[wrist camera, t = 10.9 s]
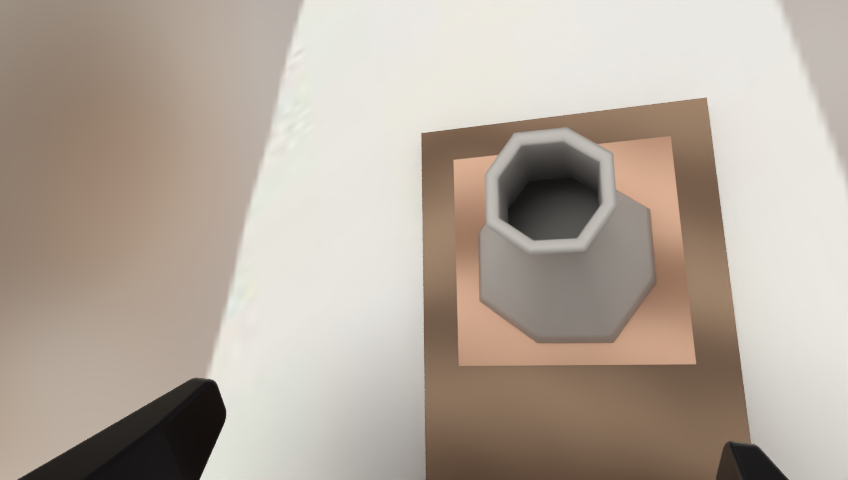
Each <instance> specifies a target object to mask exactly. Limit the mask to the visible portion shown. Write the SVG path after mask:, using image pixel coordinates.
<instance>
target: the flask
mask: <svg viewBox="0 0 848 480" xmlns="http://www.w3.org/2000/svg"><path fill="white" fill-rule="evenodd" d="M485 215H486V223H485V225H484V226H483V227H482V229H481V230H480V232H479V233H478V253H479V301H480V302H481V303H483V304H484V305H486V306H487V307H488V308H490V309H491V310H492V311H494V312H495V313H497V314H498V315H499V316H501V317H502V318H503V319H505V320H506V321H508V322H509V323H510V324H512V325H513V326H515V327H516V328H517V329H519V330H520V331H521V332H523V333H524V334H526V335H527V336H528V337H530V338H531V339H532V340H534V341H535V342H537V343H613V342H614V341H615V340H616V338H617V337H618V335H619V334H620V333H621V331H622V330H623V328H624V327H625V326H626V324H627V323H628V321H629V320H630V318H631V317H632V316H633V314H634V313H635V311H636V310H637V309H638V307H639V306H640V304H641V303H642V302H643V300H644V299H645V297H646V296H647V294H648V293H649V292H650V290H651V289H652V287H653V286H654V285H655V283H656V270H655V258H654V246H653V234H652V223H651V211H650V209H649V208H647V207H645V206H644V205H642V204H640V203H639V202H637V201H635V200H633V199H632V198H630V197H628V196H626V195H625V194H623V193H621V192H620V191H618V190H616V183H615V169H614V155H613V153H612V152H611V151H609V150H607V149H605V148H603V147H602V146H600V145H598V144H596V143H594V142H593V141H591V140H589V139H587V138H585V137H584V136H582V135H580V134H578V133H576V132H575V131H573V130H571V129H569V128H567V127H564V128H555V129H546V130H536V131H527V132H517V133H514V134H513V135H512V137H511V138H510V139H509V141H508V142H507V144H506V145H505V146H504V148H503V149H502V151H501V152H500V154H499V155H498V156H497V158H496V159H495V161H494V162H493V163H492V165H491V166H490V168H489V169H488V171H487V172H486V173H485Z"/></svg>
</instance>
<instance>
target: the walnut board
mask: <svg viewBox="0 0 848 480" xmlns="http://www.w3.org/2000/svg"><path fill="white" fill-rule="evenodd" d="M564 127H567V128H569V129H571V130H573V131H575V132H576V133H578V134H580V135H582V136H584V137H585V138H587V139H589V140H591V141H593V142H594V143H596V144H598V145H600V146H602V147H603V148H605V149H607V150H609V151H611V152H612V153H613V155H614V169H615V183H616V190H618V191H620V192H621V193H623V194H625V195H626V196H628V197H630V198H632V199H633V200H635V201H637V202H639V203H640V204H642V205H644V206H645V207H647V208H649V209H650V211H651V223H652V234H653V246H654V258H655V270H656V283H655V285H654V286H653V287H652V289H651V290H650V292H649V293H648V294H647V296H646V297H645V299H644V300H643V302H642V303H641V304H640V306H639V307H638V309H637V310H636V311H635V313H634V314H633V316H632V317H631V318H630V320H629V321H628V323H627V324H626V326H625V327H624V328H623V330H622V331H621V333H620V334H619V335H618V337H617V338H616V340H615V341H614V342H613V343H537V342H535V341H534V340H532V339H531V338H530V337H528V336H527V335H526V334H524V333H523V332H521V331H520V330H519V329H517V328H516V327H515V326H513V325H512V324H510V323H509V322H508V321H506V320H505V319H503V318H502V317H501V316H499V315H498V314H497V313H495V312H494V311H492V310H491V309H490V308H488V307H487V306H486V305H484V304H483V303H481V302H480V301H479V253H478V233H479V232H480V230H481V229H482V227H483V226H484V225H485V223H486V215H485V173H486V172H487V171H488V169H489V168H490V166H491V165H492V163H493V162H494V161H495V159H496V158H497V156H498V155H499V154H500V152H501V151H502V149H503V148H504V146H505V145H506V144H507V142H508V141H509V139H510V138H511V137H512V135H513V134H514V133H517V132H527V131H536V130H546V129H555V128H564ZM421 134H422V210H423V286H424V363H425V439H426V480H716V475H717V471H718V467H719V463H720V459H721V455H722V450H723V447H724V445H725V443H726V442H728V441H735V442H744V443H751V441H750V433H749V426H748V418H747V410H746V402H745V394H744V386H743V379H742V371H741V363H740V355H739V347H738V339H737V332H736V324H735V316H734V308H733V300H732V292H731V285H730V277H729V269H728V261H727V253H726V245H725V238H724V230H723V222H722V214H721V206H720V199H719V191H718V183H717V175H716V167H715V159H714V152H713V144H712V136H711V128H710V120H709V112H708V105H707V98H700V99H692V100H684V101H676V102H668V103H660V104H652V105H644V106H636V107H628V108H620V109H612V110H604V111H596V112H588V113H580V114H572V115H564V116H556V117H548V118H540V119H532V120H524V121H516V122H508V123H500V124H492V125H484V126H476V127H468V128H460V129H452V130H444V131H436V132H428V133H421Z"/></svg>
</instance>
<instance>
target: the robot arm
mask: <svg viewBox="0 0 848 480" xmlns="http://www.w3.org/2000/svg"><path fill="white" fill-rule="evenodd" d="M225 419H226V408H225V405H224V402H223V399H222V397H221V394H220V391H219V388H218V385H217V383H216V382H215V381H214V380H211V379H204V378H193V379H191V380H189V381H187V382H185V383H184V384H182V385H180V386H178V387H177V388H175V389H173V390H172V391H170V392H168V393H166V394H165V395H163V396H161V397H159V398H158V399H156V400H154V401H152V402H151V403H149V404H147V405H146V406H144V407H142V408H140V409H139V410H137V411H135V412H133V413H132V414H130V415H128V416H127V417H125V418H123V419H121V420H120V421H118V422H116V423H114V424H113V425H111V426H109V427H108V428H106V429H104V430H102V431H101V432H99V433H97V434H96V435H94V436H92V437H91V438H89V439H87V440H85V441H83V442H82V443H80V444H78V445H76V446H75V447H73V448H71V449H70V450H68V451H66V452H65V453H63V454H61V455H59V456H57V457H56V458H54V459H52V460H51V461H49V462H47V463H45V464H44V465H42V466H40V467H39V468H37V469H35V470H33V471H31V472H30V473H28V474H26V475H25V476H23V477H21V478H19V479H18V480H200V477H201V475H202V473H203V471H204V468H205V466H206V464H207V462H208V459H209V457H210V455H211V452H212V450H213V448H214V446H215V443H216V441H217V439H218V437H219V434H220V432H221V430H222V427H223V425H224V423H225ZM716 480H789V479H788V478H787V477H786V476H785V475H784V474H783V473H782V472H781V471H780V470H779V468H778V467H777V466H776V465H775V464H774V463H773V462H772V461H771V460H770V459H769V457H768V456H767V455H766V454H765V453H764V452H763V451H762V450H761V449H760V448H759V447H758V446H756V445H755V444H751V443H744V442H735V441H728V442H726V443H725V445H724V447H723V450H722V455H721V459H720V463H719V467H718V471H717V475H716Z"/></svg>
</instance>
